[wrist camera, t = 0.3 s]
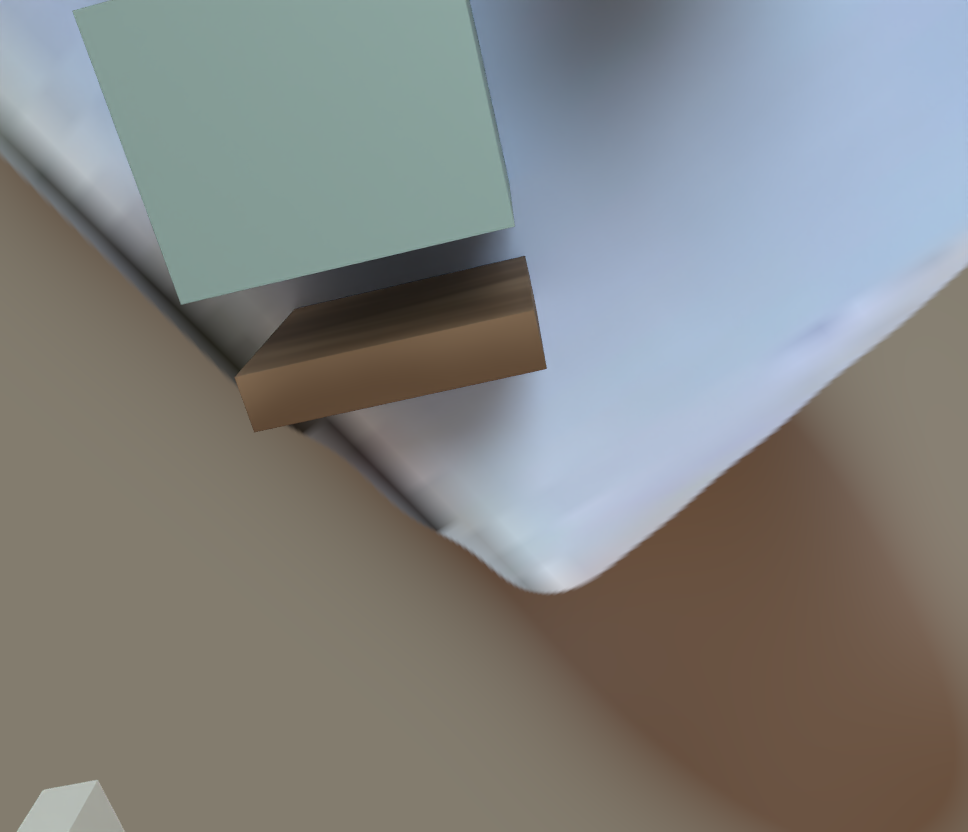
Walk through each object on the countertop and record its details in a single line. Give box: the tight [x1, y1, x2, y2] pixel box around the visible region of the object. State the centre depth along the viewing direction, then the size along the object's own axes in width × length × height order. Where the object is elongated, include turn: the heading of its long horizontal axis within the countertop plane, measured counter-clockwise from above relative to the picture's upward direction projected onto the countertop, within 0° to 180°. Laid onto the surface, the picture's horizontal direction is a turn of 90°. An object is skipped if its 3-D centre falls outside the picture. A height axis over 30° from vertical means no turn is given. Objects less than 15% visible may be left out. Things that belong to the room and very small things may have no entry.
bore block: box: [73, 0, 515, 305], centre depth 28 cm, size 8×10×11 cm
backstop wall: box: [235, 256, 547, 432], centre depth 32 cm, size 2×10×9 cm, turn 103°
